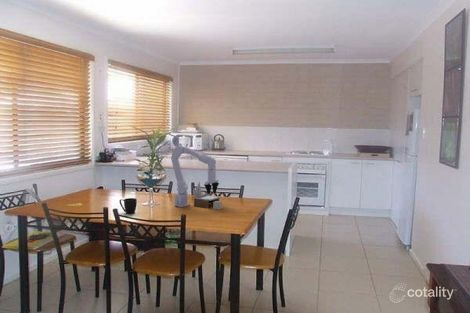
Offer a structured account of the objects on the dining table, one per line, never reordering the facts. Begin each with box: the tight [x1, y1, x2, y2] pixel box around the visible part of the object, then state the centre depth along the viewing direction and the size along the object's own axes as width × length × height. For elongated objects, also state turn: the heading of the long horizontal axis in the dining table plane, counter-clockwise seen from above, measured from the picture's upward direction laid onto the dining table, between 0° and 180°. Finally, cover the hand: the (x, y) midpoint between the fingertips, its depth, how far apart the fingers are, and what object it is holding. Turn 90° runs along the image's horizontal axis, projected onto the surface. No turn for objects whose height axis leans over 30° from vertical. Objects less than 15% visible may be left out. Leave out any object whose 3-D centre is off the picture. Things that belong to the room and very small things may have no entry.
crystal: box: [192, 181, 210, 199], centre depth 319 cm, size 10×13×15 cm
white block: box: [212, 200, 223, 210], centre depth 290 cm, size 4×4×5 cm
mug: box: [118, 197, 138, 215], centre depth 272 cm, size 8×12×10 cm
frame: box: [193, 197, 220, 209], centre depth 300 cm, size 15×12×6 cm
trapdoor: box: [196, 194, 220, 201], centre depth 300 cm, size 12×12×2 cm
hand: (211, 193), depth 298 cm, fingers open, 7 cm apart
